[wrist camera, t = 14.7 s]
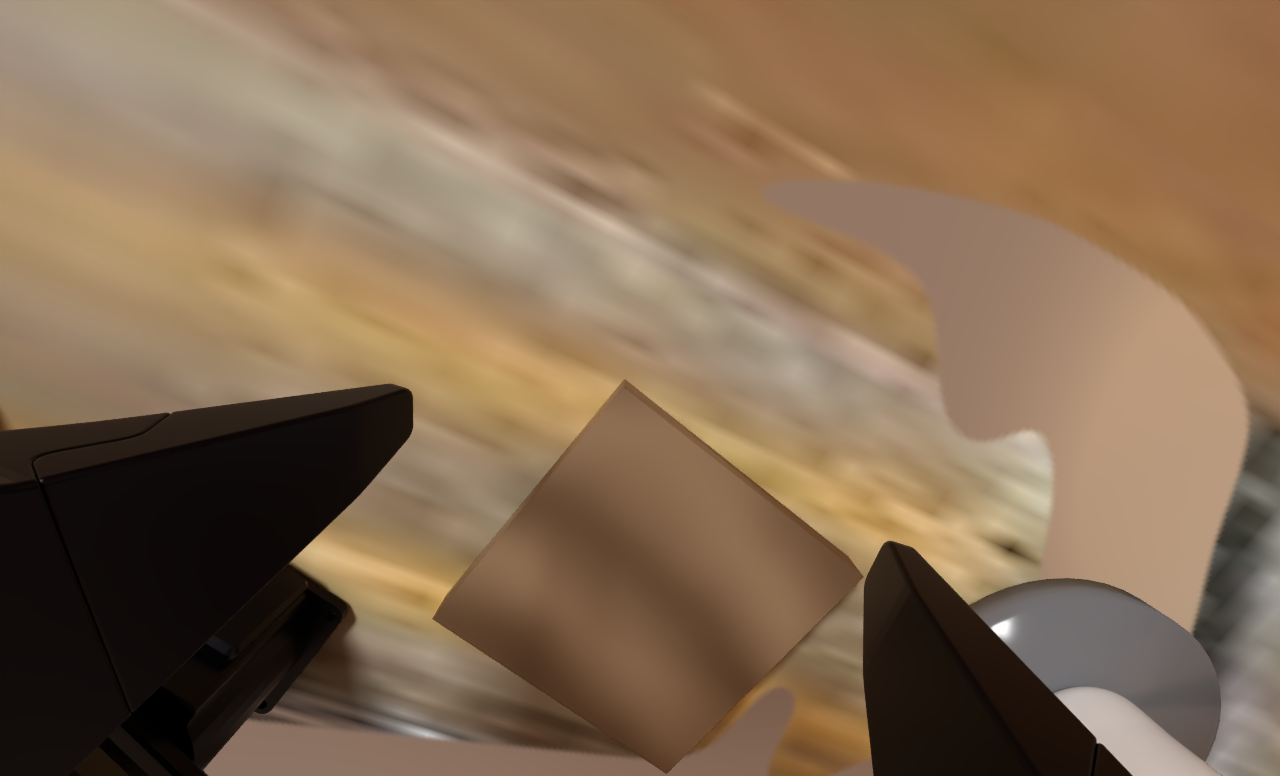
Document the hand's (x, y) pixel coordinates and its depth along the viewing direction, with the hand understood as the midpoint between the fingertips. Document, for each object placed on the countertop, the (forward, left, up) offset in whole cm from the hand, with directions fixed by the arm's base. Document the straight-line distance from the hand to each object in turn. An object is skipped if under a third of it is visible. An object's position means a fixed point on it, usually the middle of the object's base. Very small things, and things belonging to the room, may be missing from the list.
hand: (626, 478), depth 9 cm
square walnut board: (-6, -6, -11) cm, 14 cm away
